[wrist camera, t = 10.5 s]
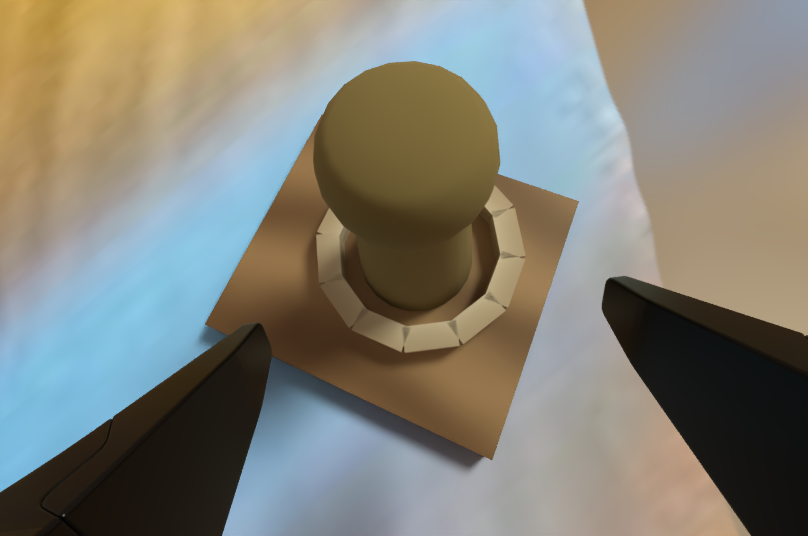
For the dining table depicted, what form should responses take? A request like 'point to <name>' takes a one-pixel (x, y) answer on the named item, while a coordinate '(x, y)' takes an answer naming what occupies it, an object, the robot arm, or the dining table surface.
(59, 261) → the dining table surface
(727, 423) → the robot arm
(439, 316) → the ring board
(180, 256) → the dining table surface
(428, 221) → the olive brown pestle
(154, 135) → the dining table surface
